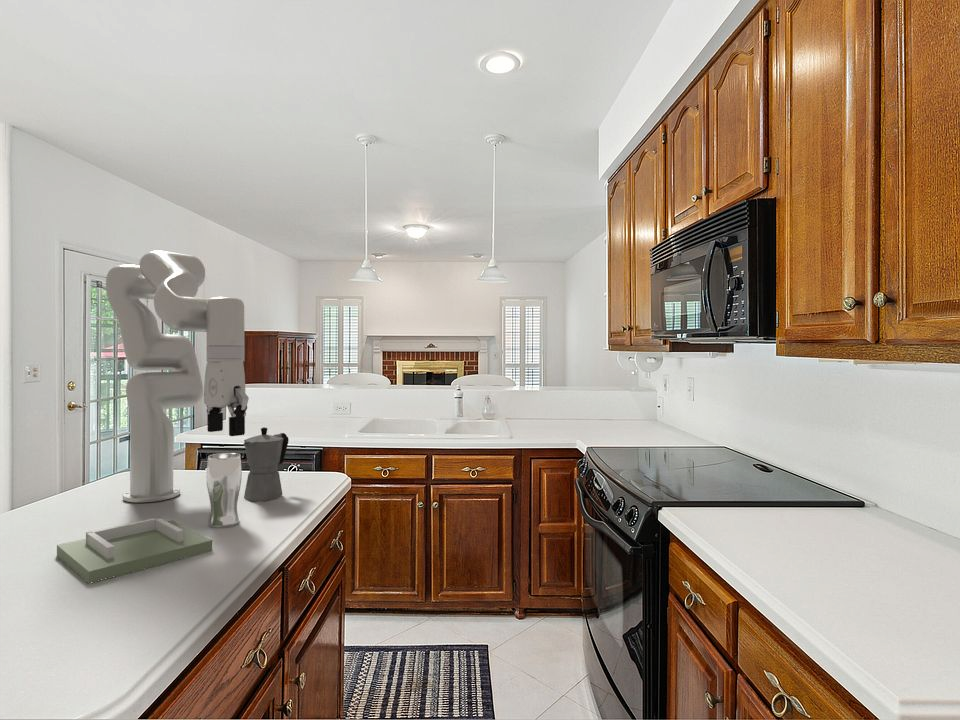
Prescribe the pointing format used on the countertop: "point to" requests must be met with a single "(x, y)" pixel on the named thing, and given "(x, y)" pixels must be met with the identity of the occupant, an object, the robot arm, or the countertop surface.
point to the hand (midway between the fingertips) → (225, 433)
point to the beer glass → (223, 488)
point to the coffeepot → (264, 465)
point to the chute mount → (131, 548)
